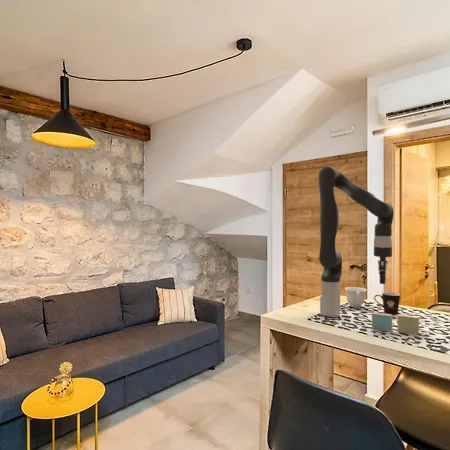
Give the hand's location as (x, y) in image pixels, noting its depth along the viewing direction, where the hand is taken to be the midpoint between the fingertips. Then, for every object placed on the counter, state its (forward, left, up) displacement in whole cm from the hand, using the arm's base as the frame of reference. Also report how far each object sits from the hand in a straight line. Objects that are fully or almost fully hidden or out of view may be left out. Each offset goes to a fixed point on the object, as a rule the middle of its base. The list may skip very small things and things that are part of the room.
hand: (382, 282), depth 147 cm
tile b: (+10, -5, -20) cm, 23 cm away
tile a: (0, -7, -20) cm, 21 cm away
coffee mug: (+2, +27, -20) cm, 34 cm away
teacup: (-14, +30, -20) cm, 39 cm away
